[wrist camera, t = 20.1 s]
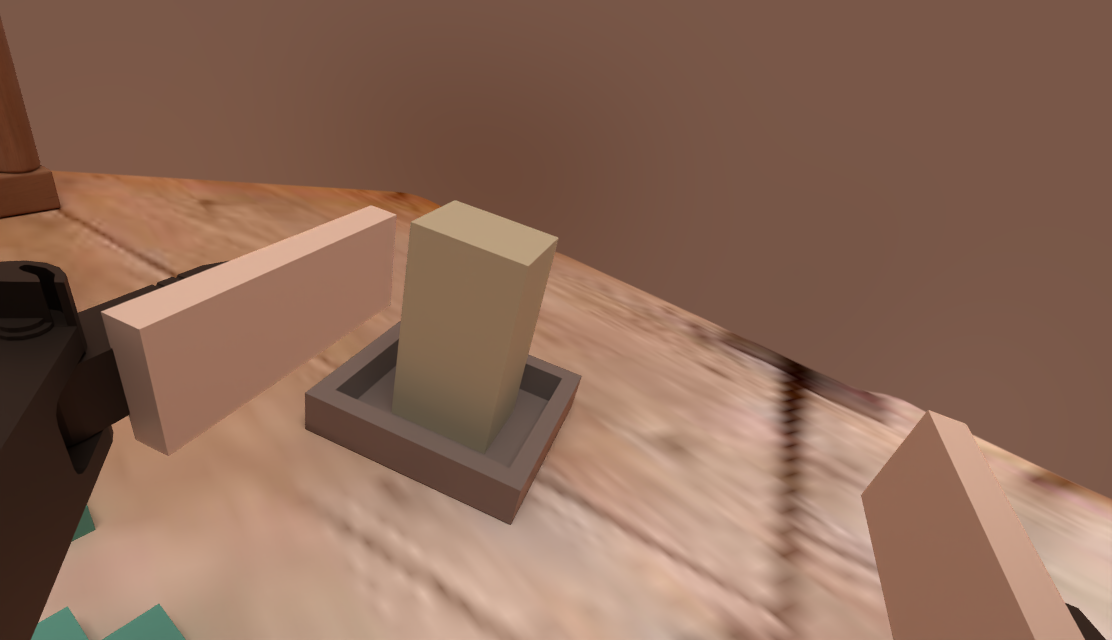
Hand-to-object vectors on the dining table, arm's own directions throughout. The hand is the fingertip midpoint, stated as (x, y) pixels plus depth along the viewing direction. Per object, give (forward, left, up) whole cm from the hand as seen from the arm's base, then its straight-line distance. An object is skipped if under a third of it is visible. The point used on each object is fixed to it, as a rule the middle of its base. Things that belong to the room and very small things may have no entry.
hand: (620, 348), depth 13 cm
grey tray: (+3, -18, -20) cm, 27 cm away
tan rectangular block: (+3, -18, -19) cm, 26 cm away
